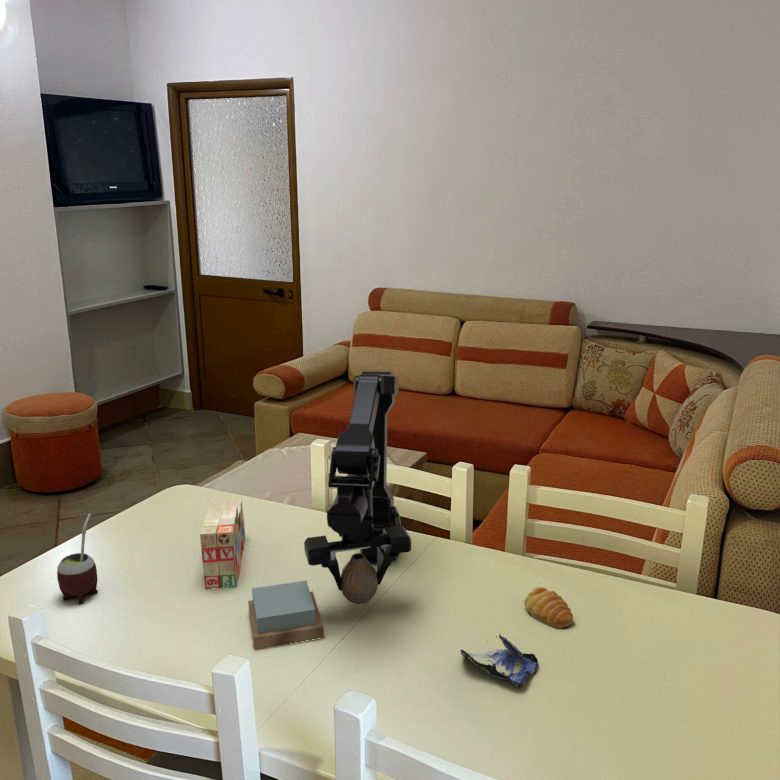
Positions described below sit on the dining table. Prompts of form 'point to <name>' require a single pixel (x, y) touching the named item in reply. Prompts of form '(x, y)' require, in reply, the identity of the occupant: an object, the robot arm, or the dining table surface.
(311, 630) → the tower base
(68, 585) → the mate gourd
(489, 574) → the dining table surface
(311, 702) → the dining table surface
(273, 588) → the tower top
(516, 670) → the snack package
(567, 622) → the pastry
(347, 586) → the vase
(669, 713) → the dining table surface
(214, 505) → the stack of blocks
